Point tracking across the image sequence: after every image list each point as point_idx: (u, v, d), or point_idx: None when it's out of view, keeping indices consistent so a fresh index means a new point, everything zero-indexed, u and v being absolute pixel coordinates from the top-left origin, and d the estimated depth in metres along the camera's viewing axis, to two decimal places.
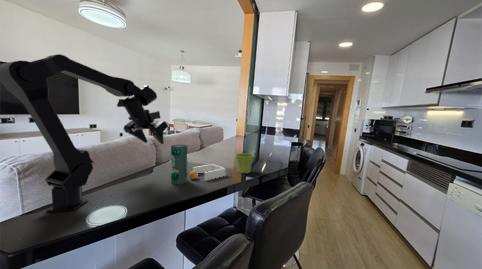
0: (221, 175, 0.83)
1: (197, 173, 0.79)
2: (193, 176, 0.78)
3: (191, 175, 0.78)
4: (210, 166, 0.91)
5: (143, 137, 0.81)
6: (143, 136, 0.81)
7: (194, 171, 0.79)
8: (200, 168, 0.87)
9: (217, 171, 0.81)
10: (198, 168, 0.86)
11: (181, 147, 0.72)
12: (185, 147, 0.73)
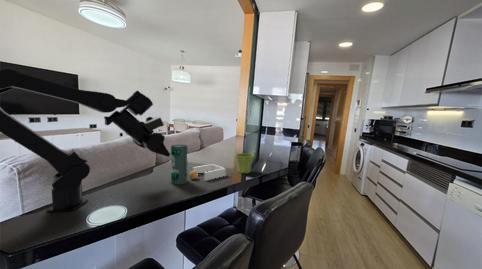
0: (221, 175, 0.83)
1: (197, 173, 0.79)
2: (193, 176, 0.78)
3: (191, 175, 0.78)
4: (210, 166, 0.91)
5: None
6: None
7: (194, 171, 0.79)
8: (200, 168, 0.87)
9: (217, 171, 0.81)
10: (198, 168, 0.86)
11: (181, 147, 0.72)
12: (185, 147, 0.73)
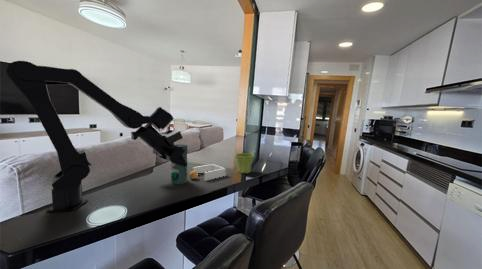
0: (221, 175, 0.83)
1: (197, 173, 0.79)
2: (193, 176, 0.78)
3: (191, 175, 0.78)
4: (210, 166, 0.91)
5: None
6: None
7: (194, 171, 0.79)
8: (200, 168, 0.87)
9: (217, 171, 0.81)
10: (198, 168, 0.86)
11: None
12: (185, 147, 0.73)
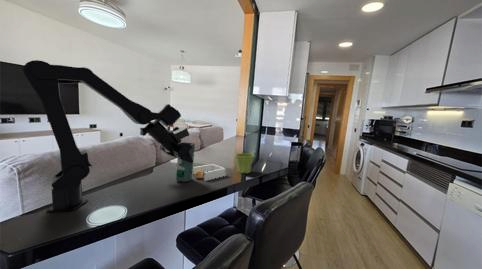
0: (221, 175, 0.83)
1: None
2: (199, 174, 0.79)
3: (199, 172, 0.79)
4: (210, 166, 0.91)
5: None
6: None
7: None
8: (200, 168, 0.87)
9: (217, 171, 0.81)
10: (198, 168, 0.86)
11: None
12: (193, 146, 0.75)
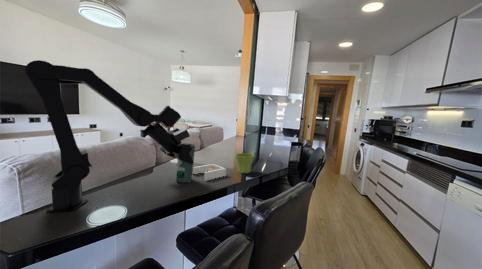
0: (221, 175, 0.83)
1: (210, 170, 0.82)
2: None
3: None
4: (210, 166, 0.91)
5: None
6: None
7: None
8: (200, 168, 0.87)
9: (217, 171, 0.81)
10: (198, 168, 0.86)
11: None
12: (193, 146, 0.75)
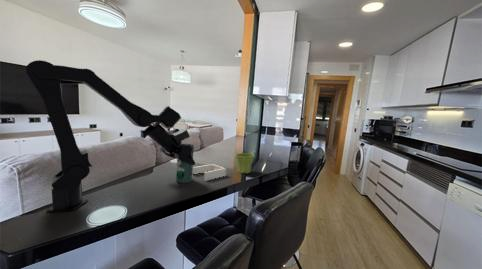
0: (221, 175, 0.83)
1: None
2: None
3: None
4: (210, 166, 0.91)
5: None
6: None
7: (217, 168, 0.84)
8: (200, 168, 0.87)
9: (217, 171, 0.81)
10: (198, 168, 0.86)
11: None
12: (192, 146, 0.75)
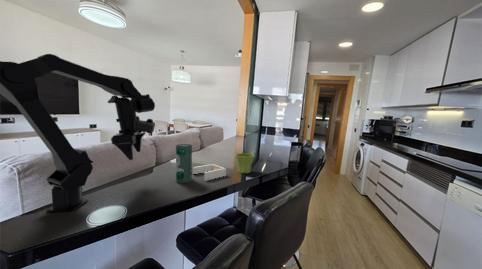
0: (221, 175, 0.83)
1: None
2: None
3: None
4: (210, 166, 0.91)
5: (138, 145, 0.74)
6: (137, 144, 0.74)
7: (216, 168, 0.84)
8: (200, 168, 0.87)
9: (217, 171, 0.81)
10: (198, 168, 0.86)
11: (186, 146, 0.74)
12: (190, 146, 0.75)
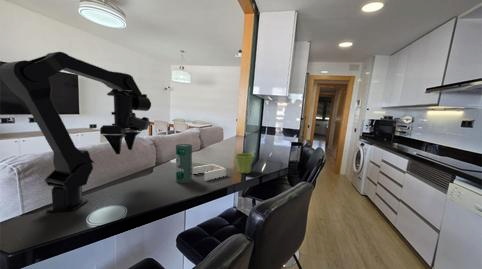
0: (221, 175, 0.83)
1: None
2: None
3: None
4: (210, 166, 0.91)
5: (130, 143, 0.73)
6: (130, 142, 0.73)
7: (215, 169, 0.83)
8: (200, 168, 0.87)
9: (217, 171, 0.81)
10: (198, 168, 0.86)
11: (186, 146, 0.74)
12: (190, 146, 0.75)
